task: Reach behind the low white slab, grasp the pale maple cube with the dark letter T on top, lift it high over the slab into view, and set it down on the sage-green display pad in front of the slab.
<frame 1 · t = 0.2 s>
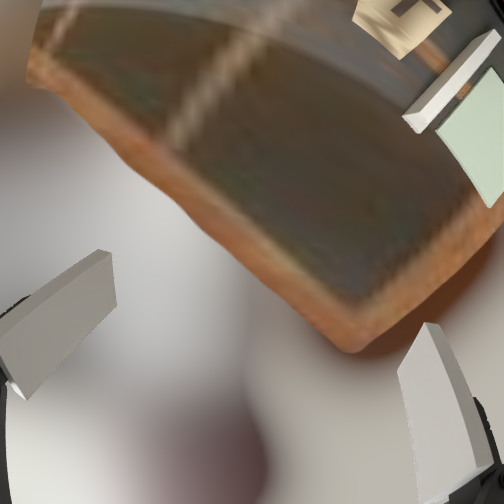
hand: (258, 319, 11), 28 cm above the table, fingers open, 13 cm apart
display pad: (492, 135, 26), on the table
white slab: (445, 76, 25), on the table
maple cube: (392, 24, 24), on the table
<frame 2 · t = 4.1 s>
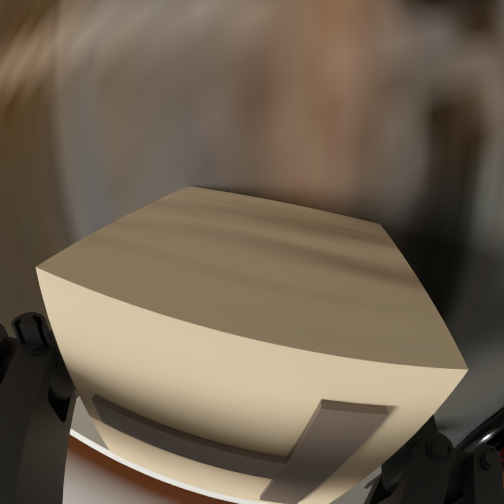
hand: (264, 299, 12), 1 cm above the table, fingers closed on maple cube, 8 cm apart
white slab: (239, 411, 17), on the table
maple cube: (267, 289, 13), on the table, touching gripper
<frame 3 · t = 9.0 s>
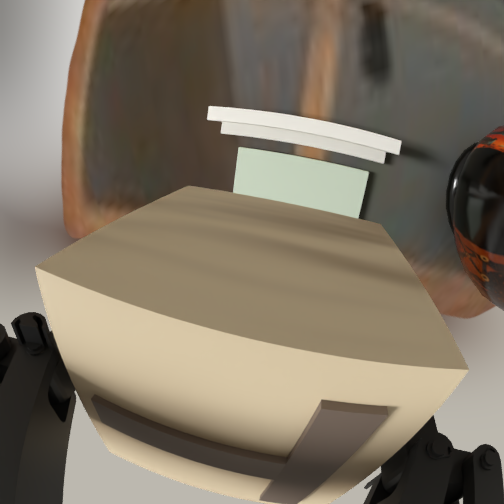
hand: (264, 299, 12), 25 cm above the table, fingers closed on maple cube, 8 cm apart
amphora vase: (486, 197, 29), on the table
display pad: (294, 210, 36), on the table
white slab: (305, 127, 31), on the table
maple cube: (267, 289, 13), point 24 cm above the table, touching gripper
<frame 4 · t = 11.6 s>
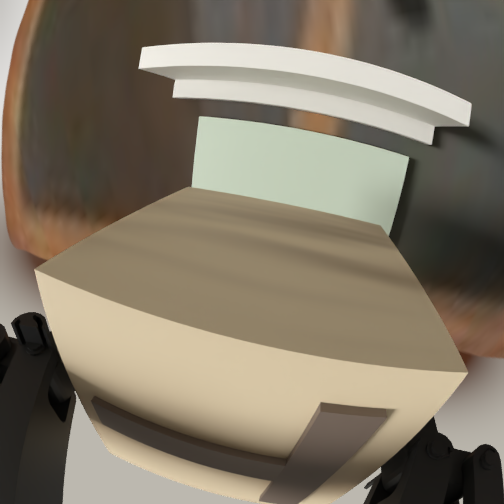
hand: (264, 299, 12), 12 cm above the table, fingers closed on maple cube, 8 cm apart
display pad: (289, 217, 22), on the table
white slab: (307, 83, 18), on the table
maple cube: (267, 290, 13), point 11 cm above the table, touching gripper
when the fingers open (3 cm above the table, at t = 13.8 s): maple cube drops 1 cm, resting on display pad.
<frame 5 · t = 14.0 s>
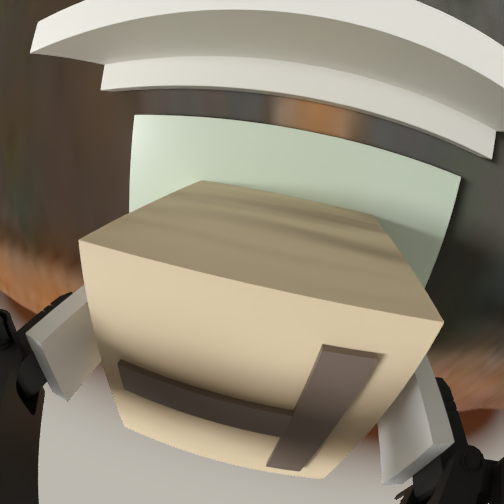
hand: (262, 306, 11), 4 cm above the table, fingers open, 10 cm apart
display pad: (273, 267, 15), on the table
white slab: (301, 55, 11), on the table
maple cube: (271, 275, 14), point 1 cm above the table, touching display pad
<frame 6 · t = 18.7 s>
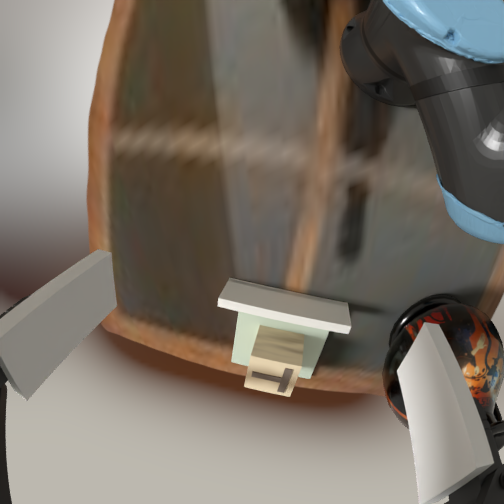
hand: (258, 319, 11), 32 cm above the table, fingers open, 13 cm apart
amphora vase: (427, 329, 44), on the table
display pad: (278, 342, 51), on the table
white slab: (288, 294, 46), on the table
maple cube: (277, 346, 50), point 1 cm above the table, touching display pad
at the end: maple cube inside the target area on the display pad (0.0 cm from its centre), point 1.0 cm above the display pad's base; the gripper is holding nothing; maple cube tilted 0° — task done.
